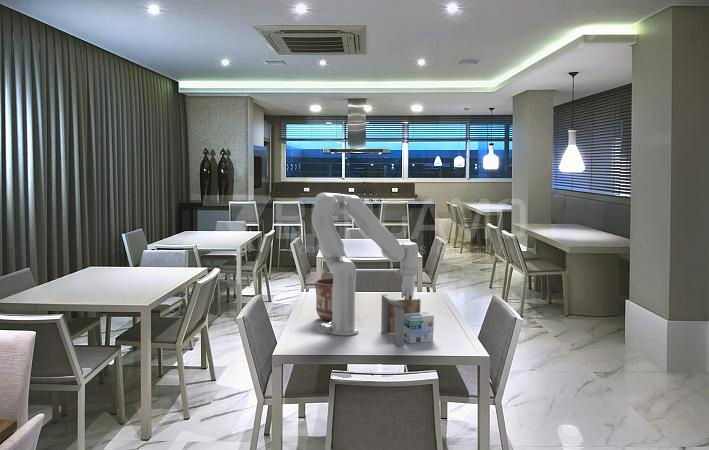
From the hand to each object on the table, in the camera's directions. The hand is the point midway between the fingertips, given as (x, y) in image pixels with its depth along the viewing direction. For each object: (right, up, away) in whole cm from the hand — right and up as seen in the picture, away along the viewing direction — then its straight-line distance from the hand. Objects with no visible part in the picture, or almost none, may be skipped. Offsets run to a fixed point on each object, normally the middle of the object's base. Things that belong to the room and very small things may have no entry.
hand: (408, 312), depth 265 cm
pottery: (-33, -6, +17) cm, 37 cm away
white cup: (+3, -6, +17) cm, 18 cm away
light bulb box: (+3, -9, -17) cm, 19 cm away
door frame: (-8, -8, -14) cm, 18 cm away
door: (-3, -7, -6) cm, 10 cm away
